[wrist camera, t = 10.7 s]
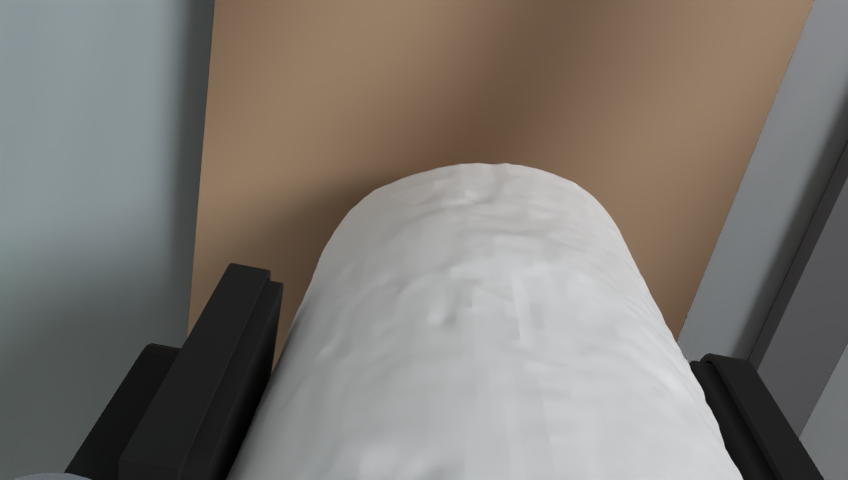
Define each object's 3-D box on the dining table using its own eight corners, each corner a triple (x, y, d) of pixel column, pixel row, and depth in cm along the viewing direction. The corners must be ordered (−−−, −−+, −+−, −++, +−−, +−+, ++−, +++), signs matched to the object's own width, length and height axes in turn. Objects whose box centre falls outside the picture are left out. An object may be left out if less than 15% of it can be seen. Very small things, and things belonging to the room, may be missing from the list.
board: (889, -264, 12) (925, -275, 11) (552, 601, 21) (558, 635, 20) (266, -416, 12) (251, -442, 11) (179, 540, 20) (167, 572, 19)
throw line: (1109, -209, 13) (1134, -213, 12) (688, 623, 21) (694, 640, 20) (1017, -232, 12) (1039, -236, 12) (631, 614, 21) (636, 630, 20)
